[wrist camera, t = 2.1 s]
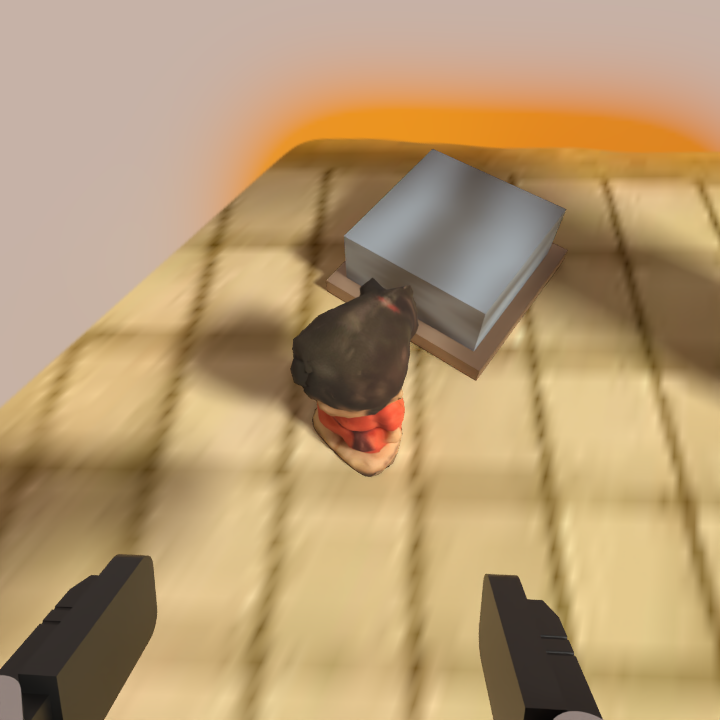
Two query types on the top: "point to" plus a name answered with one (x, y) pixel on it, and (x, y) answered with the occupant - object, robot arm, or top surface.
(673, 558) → the top surface
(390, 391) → the figurine
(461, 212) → the pedestal
